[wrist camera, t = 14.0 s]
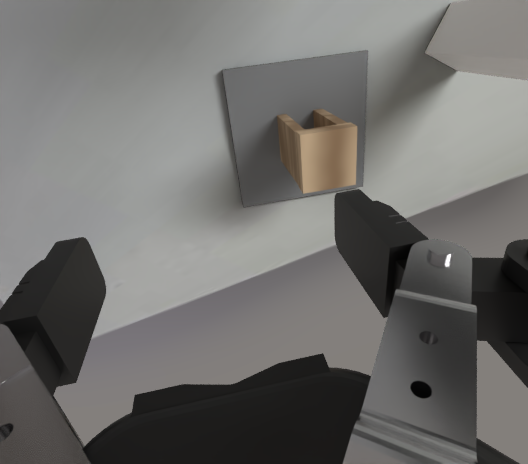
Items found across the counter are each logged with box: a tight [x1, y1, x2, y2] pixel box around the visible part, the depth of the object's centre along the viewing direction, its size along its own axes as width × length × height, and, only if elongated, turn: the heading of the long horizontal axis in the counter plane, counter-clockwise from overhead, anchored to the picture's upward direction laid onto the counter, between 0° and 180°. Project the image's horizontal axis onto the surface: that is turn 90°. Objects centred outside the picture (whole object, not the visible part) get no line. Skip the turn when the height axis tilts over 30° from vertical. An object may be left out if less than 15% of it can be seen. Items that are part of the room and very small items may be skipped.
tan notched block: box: [277, 109, 357, 194], centre depth 42 cm, size 6×6×11 cm
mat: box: [222, 51, 368, 207], centre depth 47 cm, size 18×18×1 cm
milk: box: [425, 0, 528, 80], centre depth 35 cm, size 6×6×22 cm
